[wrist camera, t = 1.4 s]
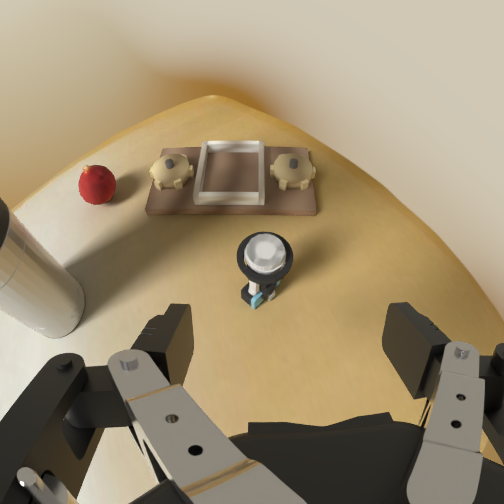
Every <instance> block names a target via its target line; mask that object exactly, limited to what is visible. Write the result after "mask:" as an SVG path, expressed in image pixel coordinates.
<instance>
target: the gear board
mask: <svg viewBox="0 0 504 504" xmlns="http://www.w3.org/2000/svg"><path fill="white" fill-rule="evenodd" d="M149 172H150V175H151V178H152V179H153V182H152V186H151V189H150V193H149V197H148V200H147V204H146V208H145V211H146V213H147V215H153V214H264V215H308V216H315V215H316V211H317V210H316V202H315V195H314V188H313V181H312V179H314V177H315V173H316V169H315V167H312V164H311V162H310V161H309V155H308V149H307V148H293V147H264V141H203V143H202V147H185V148H166V149H162V152H161V155H160V159H158V160H157V161H156V162H155V163H154V165H153V167H151V168H150V171H149Z"/></svg>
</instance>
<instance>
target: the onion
mask: <svg viewBox="0 0 504 504" xmlns="http://www.w3.org/2000/svg"><path fill="white" fill-rule="evenodd" d="M83 170H84V171H83V173H82V174H81V176H80V180H79V192H80V195H81V196H82V197H83V199H84V200H85V201H86V202H88V203H91V204H94V205H100V204H103V203H106V202H108V201H109V200H110V199H111V198H112V196H113V194H114V192H115V188H116V181H115V177H114V175H113V174H112V172H111V171H110V170H109V169H107V168H106V167H104V166H101V165H92V166H88V165H87V166H84V167H83Z"/></svg>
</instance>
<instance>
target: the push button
mask: <svg viewBox="0 0 504 504" xmlns="http://www.w3.org/2000/svg"><path fill="white" fill-rule="evenodd" d="M244 257H245V260H246V262H247V266H246V264H245V262H244ZM237 262H238V266H239V268H240V270H241V271H242V272H243V273H244V274H245V275H246V276H247V278H248V279H249V283H248V284H247V285H246V286H245V287H244V288H243V289H242V290H241V297H242V299H243V300H244V301H246V302H247V303H248V304H249V305H250V306H251V307H253V308H254V309H256V308H257V307H258V305H259V304H260V303H261V302H262V301H263V300H264V299H265V298H266V297H267V296H268V297H269V301H270V300H271V299H272V298H273V297H274V296H275V292H276V291H275V288H276V287H277V286H278V285H279V284H280V281H281V279H282V278H283V277H284V276H285V275H286V274H287V273H288V271H289V270H290V268H291V266H292V262H293V252H292V248H291V246H290V245H289V243H288V242H287V241H286V240H285V239H284V238H283V237H281V236H279V235H277V234H275V233H271V232H258V233H254V234H252V235H250V236H248V237H246V238H245V239H244V240H243V241H242V242H241V244H240V245H239V248H238V251H237ZM284 262H285V264H284ZM282 266H283V267H282ZM272 296H273V297H272ZM271 297H272V298H271Z"/></svg>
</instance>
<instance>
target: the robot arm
mask: <svg viewBox="0 0 504 504" xmlns="http://www.w3.org/2000/svg"><path fill="white" fill-rule="evenodd" d="M84 304H85V298H84V293H83V289H82V287H81V285H80V284H79V283H78V282H77V281H76V280H75V279H74V278H73V277H72V276H71V275H70V274H69V273H68V272H67V271H66V270H65V269H64V268H63V267H62V266H61V265H60V264H59V263H58V262H57V261H56V260H55V259H54V258H53V257H52V256H51V255H50V253H49V252H48V251H47V250H46V249H45V248H44V247H43V246H42V245H41V244H40V243H39V242H38V241H37V240H36V239H35V238H34V236H33V235H32V234H31V233H30V232H29V231H28V230H27V229H26V228H25V226H24V225H23V224H22V223H21V222H20V221H19V220H18V219H17V217H16V216H15V215H14V214H13V213H12V211H11V210H10V209H9V208H8V207H7V205H6V204H5V203H4V202H3V201H2V199H1V198H0V310H2V311H4V312H5V313H7V314H8V315H10V316H12V317H13V318H15V319H17V320H18V321H20V322H22V323H23V324H25V325H27V326H28V327H30V328H32V329H34V330H35V331H37V332H39V333H41V334H43V335H45V336H47V337H49V338H60V337H63V336H66V335H67V334H69V333H70V332H71V331H72V330H73V329H74V328H75V327H76V326H77V324H78V323H79V321H80V319H81V317H82V314H83V311H84ZM382 347H383V350H384V352H385V354H386V355H387V357H388V358H389V360H390V362H391V363H392V365H393V366H394V368H395V369H396V371H397V373H398V374H399V376H400V378H401V379H402V381H403V382H404V384H405V386H406V387H407V389H408V391H409V392H410V394H411V396H412V397H413V399H419V398H424V397H427V400H426V402H425V405H424V407H423V410H422V413H421V416H420V419H419V422H418V425H414V424H411V423H406V422H398V421H393V419H392V417H391V415H390V413H389V412H386V413H380V414H373V415H366V416H358V417H355V418H352V419H348V420H345V421H342V422H339V423H335V424H332V425H329V426H323V427H322V426H311V425H303V424H295V423H288V422H248V433H242V434H238V435H234V436H231V437H228V438H227V437H226V436H225V435H224V434H223V433H222V431H221V430H220V429H219V428H218V427H217V426H216V425H215V424H214V423H213V422H212V421H211V419H210V418H209V417H208V416H207V415H206V414H205V413H204V412H203V410H202V409H201V408H200V407H199V406H198V405H197V403H196V402H195V401H194V400H193V399H192V398H191V396H190V395H189V394H188V393H187V392H186V390H185V389H184V388H183V387H182V386H183V383H184V380H185V377H186V374H187V370H188V367H189V364H190V361H191V358H192V355H193V350H194V337H193V326H192V314H191V307H190V304H170V306H169V307H168V309H167V311H166V312H165V314H164V315H157V316H155V317H154V318H152V319H151V320H149V321H148V323H147V324H146V326H145V328H144V329H143V330H142V332H141V334H140V335H139V336H138V338H137V339H136V341H135V343H134V344H133V346H132V347H131V349H130V350H123V351H120V352H117V353H115V354H114V355H112V356H111V357H110V358H109V360H108V365H106V366H92V367H86V366H85V363H84V360H83V358H82V357H81V356H80V355H78V354H74V353H64V354H59V355H57V356H54V357H53V358H51V359H50V360H49V361H48V362H47V363H46V364H45V365H44V366H43V368H42V369H41V370H40V371H39V373H38V374H37V375H36V376H35V377H34V379H33V380H32V381H31V382H30V384H29V385H28V386H27V387H26V389H25V390H24V391H23V392H22V394H21V395H20V396H19V398H18V399H17V400H16V401H15V403H14V404H13V405H12V407H11V408H10V409H9V411H8V412H7V413H6V415H5V416H4V417H3V419H2V420H1V421H0V504H79V503H78V502H77V501H76V499H77V497H78V494H79V491H80V489H81V486H82V483H83V481H84V478H85V476H86V473H87V471H88V468H89V466H90V463H91V461H92V458H93V456H94V453H95V451H96V448H97V446H98V443H99V441H100V439H101V436H102V434H103V432H104V429H105V428H109V427H126V426H127V428H128V430H129V432H130V434H131V436H132V438H133V440H134V442H135V444H136V445H137V447H138V449H139V451H140V453H141V455H142V456H143V458H144V460H145V462H146V464H147V465H148V467H149V469H150V471H151V473H152V475H153V477H154V479H155V481H156V483H157V486H155V487H154V488H152V489H151V490H149V491H148V492H146V493H145V494H143V495H142V496H140V497H138V498H137V499H135V500H134V501H132V502H131V503H129V504H504V466H502V465H500V464H498V463H495V462H493V461H491V460H489V459H487V458H484V457H483V455H482V453H481V452H480V451H479V448H480V440H481V432H482V429H483V430H484V432H485V434H486V435H487V437H488V438H489V440H490V442H491V443H492V445H493V447H494V448H495V450H496V452H497V453H498V455H499V457H500V458H501V460H502V462H503V464H504V343H501V344H498V345H497V346H496V348H495V351H494V353H493V356H479V351H478V350H477V349H476V348H475V347H474V346H473V345H471V344H469V343H466V342H461V341H453V342H452V341H451V340H450V339H449V338H448V337H447V336H446V335H445V334H444V333H443V332H442V331H441V330H439V328H438V327H437V326H436V325H434V323H433V322H432V321H431V320H430V319H429V318H428V317H426V316H424V315H422V314H420V313H418V312H417V311H416V310H415V309H414V308H413V307H412V306H411V305H410V304H409V303H408V302H402V303H391V304H390V305H389V307H388V310H387V315H386V321H385V326H384V331H383V336H382ZM64 417H65V418H64ZM63 419H64V420H63Z"/></svg>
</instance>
